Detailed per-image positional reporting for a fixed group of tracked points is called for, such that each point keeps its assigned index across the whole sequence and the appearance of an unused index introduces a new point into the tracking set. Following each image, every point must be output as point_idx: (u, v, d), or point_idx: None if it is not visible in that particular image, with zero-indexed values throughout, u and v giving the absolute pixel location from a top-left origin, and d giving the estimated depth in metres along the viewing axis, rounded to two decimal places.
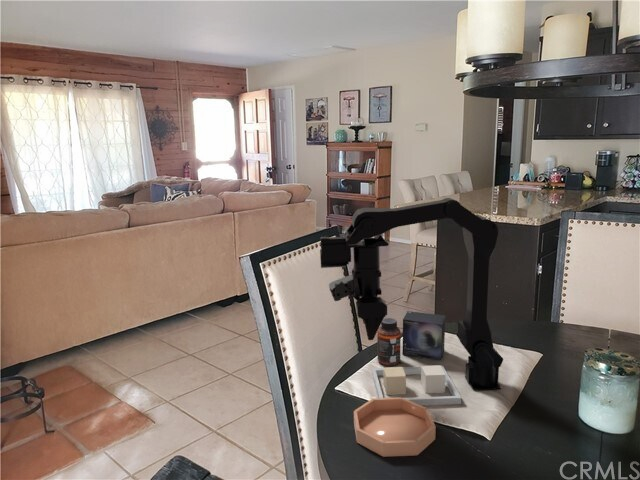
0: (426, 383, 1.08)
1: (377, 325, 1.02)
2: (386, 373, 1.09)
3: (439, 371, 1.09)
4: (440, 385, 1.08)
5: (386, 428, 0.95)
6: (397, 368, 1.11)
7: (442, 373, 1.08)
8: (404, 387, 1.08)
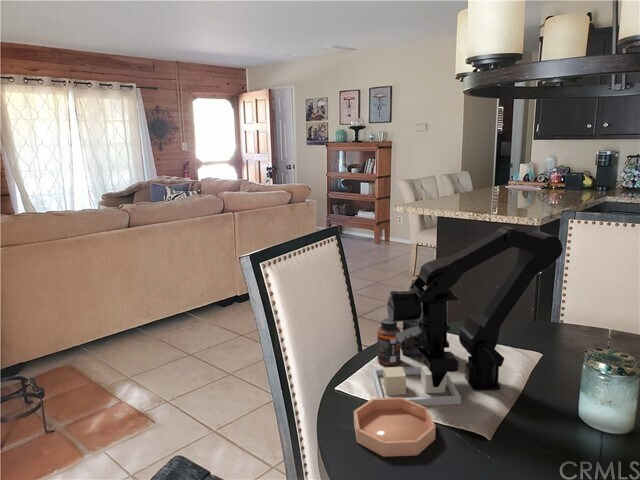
0: (426, 383, 1.08)
1: (443, 374, 1.06)
2: (386, 373, 1.09)
3: None
4: (440, 384, 1.08)
5: (386, 428, 0.95)
6: (397, 368, 1.11)
7: None
8: (404, 387, 1.08)
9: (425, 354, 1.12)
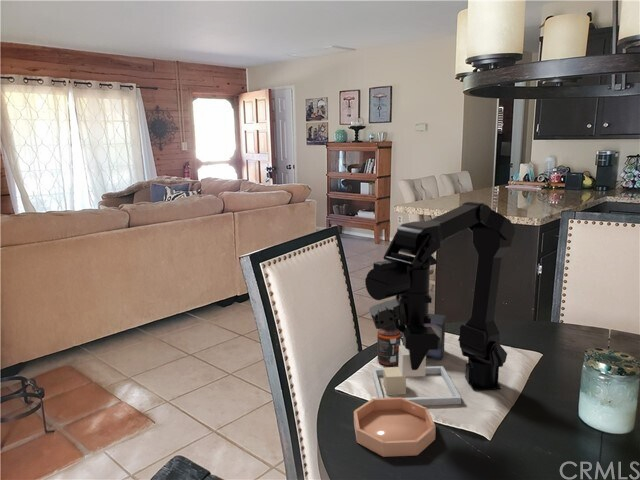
0: (403, 364, 0.92)
1: (423, 354, 0.90)
2: (386, 373, 1.09)
3: None
4: (419, 367, 0.92)
5: (386, 428, 0.95)
6: (397, 368, 1.11)
7: None
8: (404, 387, 1.08)
9: None
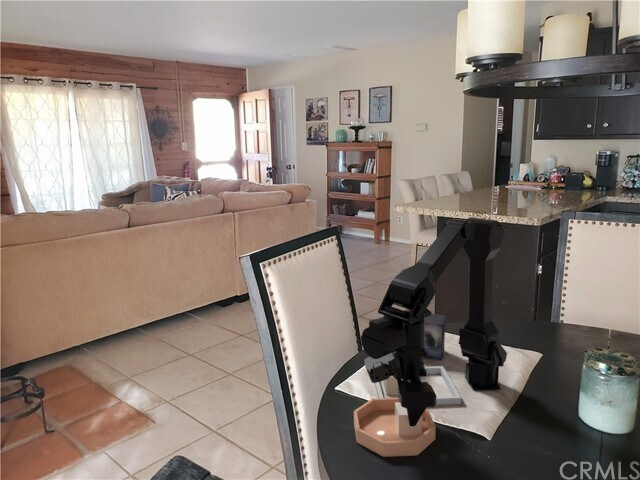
0: (399, 424, 0.92)
1: (421, 411, 0.88)
2: None
3: None
4: (415, 426, 0.92)
5: (386, 428, 0.95)
6: None
7: None
8: None
9: (398, 379, 0.97)
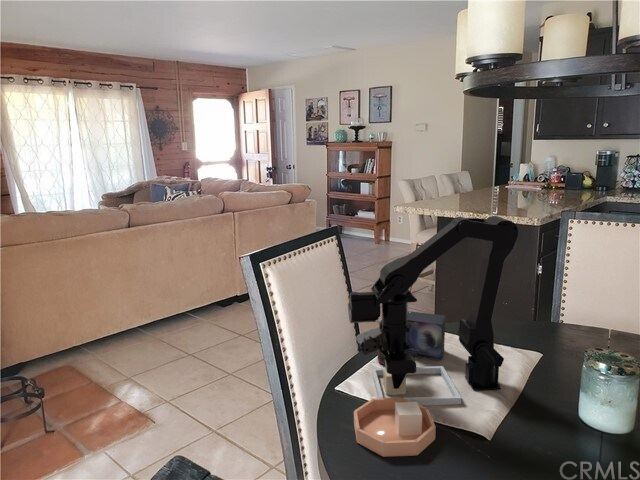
0: (399, 424, 0.92)
1: (403, 375, 1.06)
2: (386, 373, 1.09)
3: (415, 409, 0.93)
4: (415, 426, 0.92)
5: (386, 428, 0.95)
6: None
7: (418, 412, 0.92)
8: (404, 387, 1.08)
9: (387, 355, 1.12)
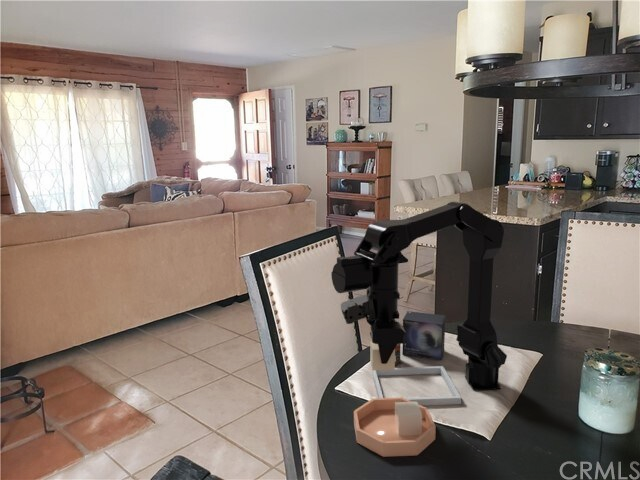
0: (399, 424, 0.92)
1: (392, 348, 0.93)
2: (373, 346, 0.96)
3: (415, 409, 0.93)
4: (415, 426, 0.92)
5: (386, 428, 0.95)
6: None
7: (418, 412, 0.92)
8: (393, 362, 0.95)
9: None
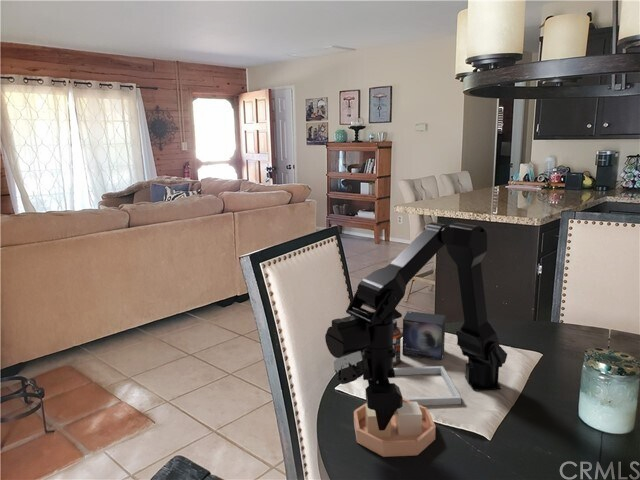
0: (399, 424, 0.92)
1: (390, 415, 0.87)
2: (368, 411, 0.93)
3: (415, 409, 0.93)
4: (415, 426, 0.92)
5: None
6: None
7: (418, 412, 0.92)
8: (389, 428, 0.92)
9: None
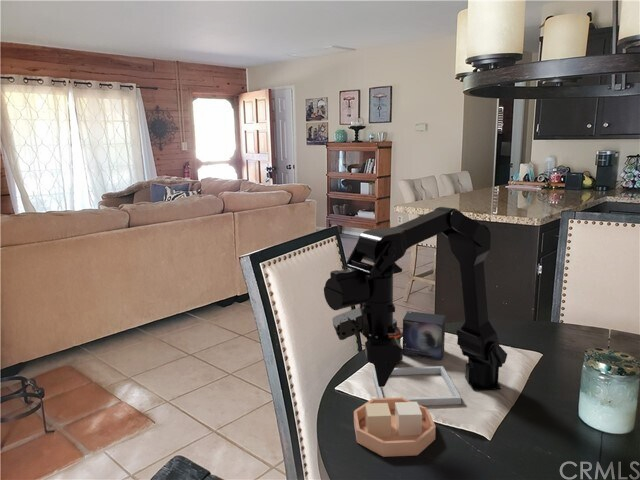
0: (399, 424, 0.92)
1: (390, 370, 0.85)
2: (368, 411, 0.93)
3: (415, 409, 0.93)
4: (415, 426, 0.92)
5: None
6: (381, 405, 0.95)
7: (418, 412, 0.92)
8: (389, 428, 0.92)
9: (368, 337, 0.96)
